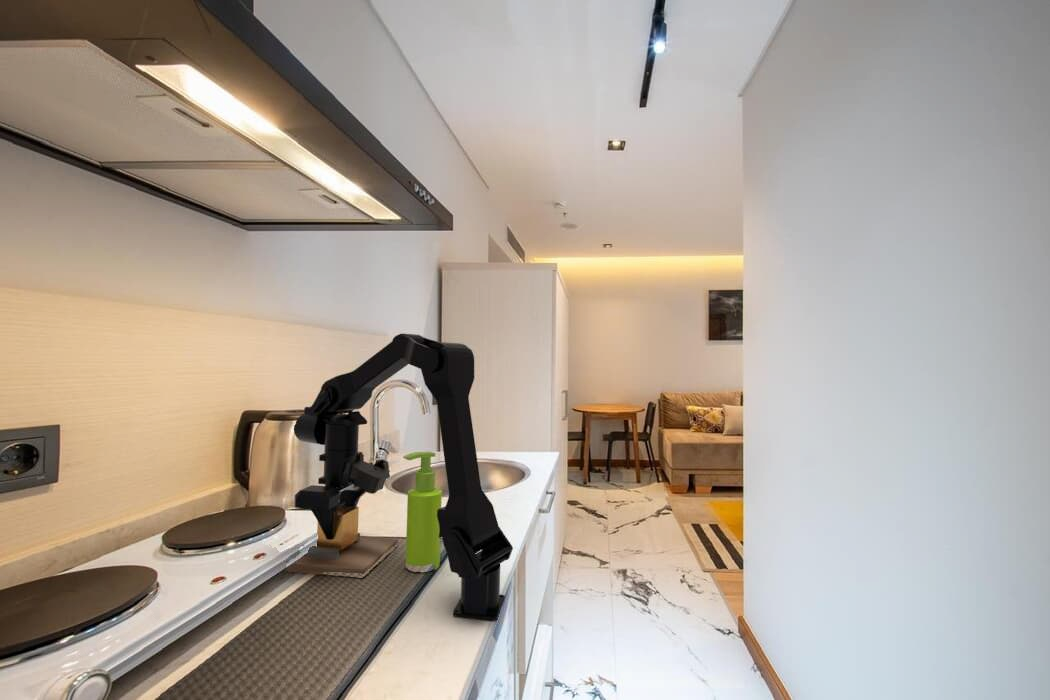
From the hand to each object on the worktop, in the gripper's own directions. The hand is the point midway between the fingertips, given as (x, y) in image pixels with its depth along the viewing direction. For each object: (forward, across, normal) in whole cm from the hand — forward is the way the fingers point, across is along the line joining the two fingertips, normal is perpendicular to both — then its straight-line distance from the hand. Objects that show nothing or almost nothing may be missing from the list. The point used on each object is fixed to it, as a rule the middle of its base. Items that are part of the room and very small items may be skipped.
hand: (338, 533), depth 87 cm
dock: (+4, 0, -2) cm, 4 cm away
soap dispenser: (+4, -1, -16) cm, 17 cm away
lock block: (+2, 0, 0) cm, 2 cm away
